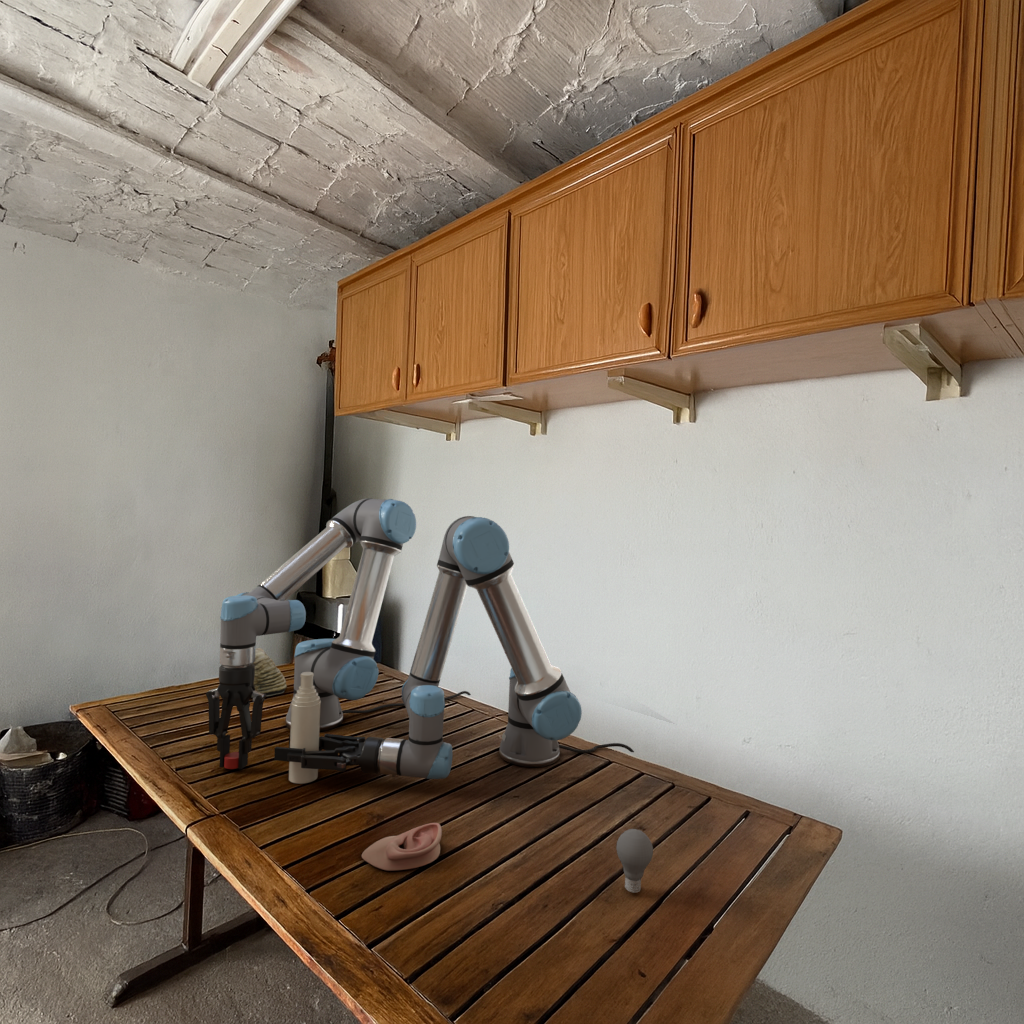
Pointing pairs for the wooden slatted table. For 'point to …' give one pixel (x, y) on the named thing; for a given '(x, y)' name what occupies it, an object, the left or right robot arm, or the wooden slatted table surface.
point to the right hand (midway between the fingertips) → (282, 747)
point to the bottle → (304, 727)
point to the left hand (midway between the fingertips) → (233, 765)
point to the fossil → (267, 675)
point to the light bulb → (634, 857)
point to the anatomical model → (406, 849)
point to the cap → (231, 760)
